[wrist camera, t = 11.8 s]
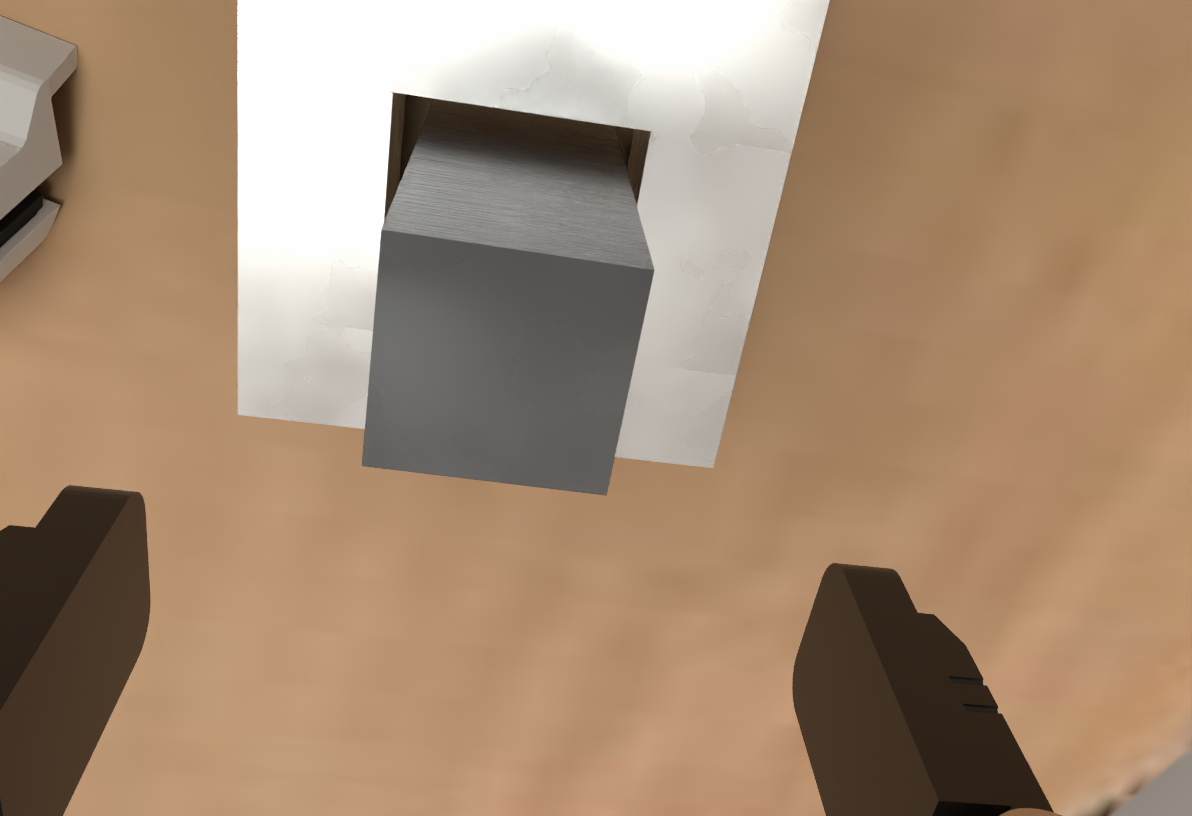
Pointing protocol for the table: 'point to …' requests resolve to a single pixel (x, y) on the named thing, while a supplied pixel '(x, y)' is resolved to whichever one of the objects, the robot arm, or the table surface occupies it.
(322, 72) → the square hole plate
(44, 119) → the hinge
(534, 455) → the square peg
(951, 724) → the robot arm
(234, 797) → the table surface
